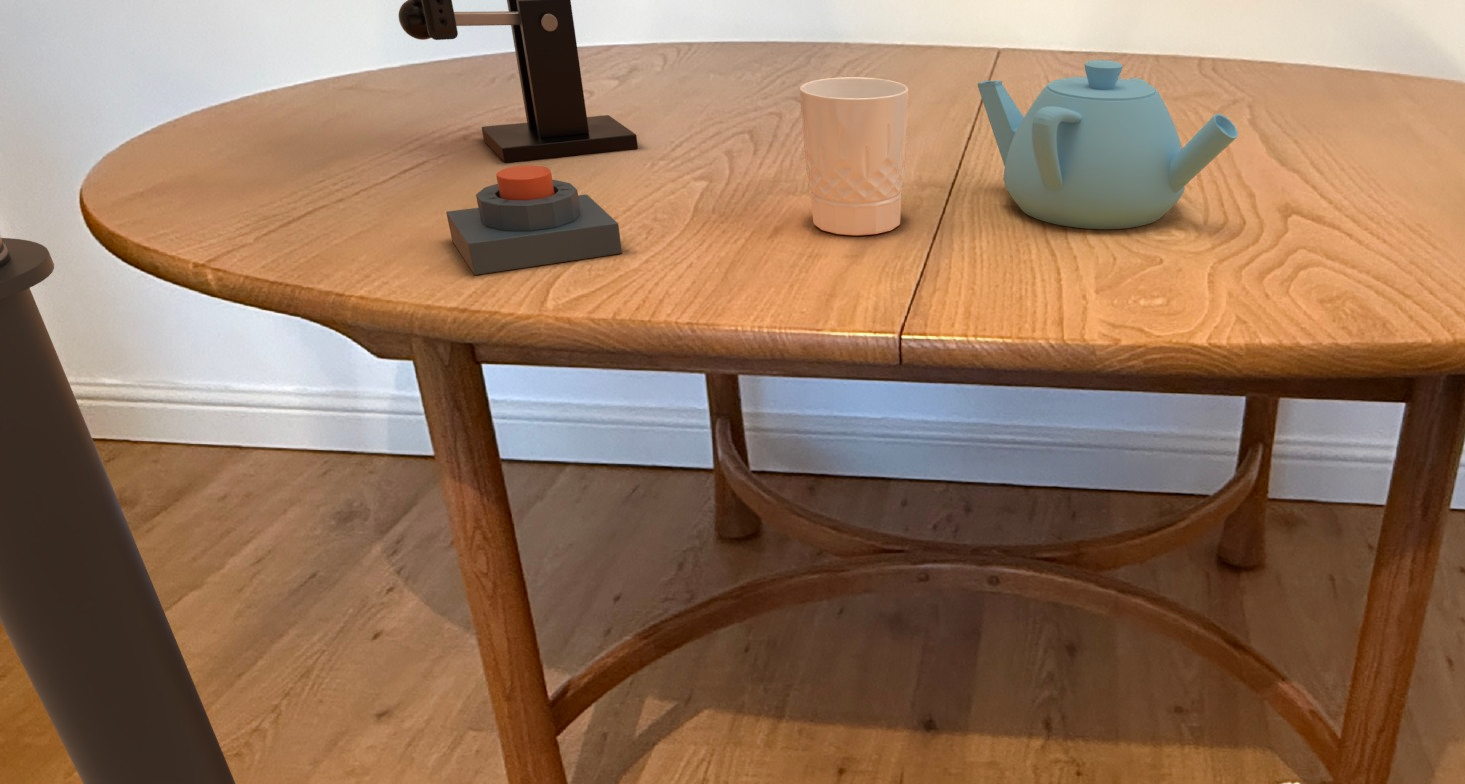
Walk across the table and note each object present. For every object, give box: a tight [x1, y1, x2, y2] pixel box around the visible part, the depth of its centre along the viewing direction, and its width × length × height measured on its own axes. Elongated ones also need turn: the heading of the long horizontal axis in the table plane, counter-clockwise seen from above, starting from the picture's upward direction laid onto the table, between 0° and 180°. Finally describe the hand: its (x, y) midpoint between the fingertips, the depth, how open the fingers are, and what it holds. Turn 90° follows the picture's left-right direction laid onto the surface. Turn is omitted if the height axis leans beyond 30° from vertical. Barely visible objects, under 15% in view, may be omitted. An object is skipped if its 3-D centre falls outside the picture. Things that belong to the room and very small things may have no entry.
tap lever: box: [398, 0, 520, 41], centre depth 98 cm, size 13×3×3 cm, turn 121°
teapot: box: [977, 59, 1239, 230], centre depth 90 cm, size 15×17×11 cm
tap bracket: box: [481, 0, 639, 164], centre depth 103 cm, size 12×9×13 cm
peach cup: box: [799, 76, 909, 236], centre depth 85 cm, size 8×8×10 cm
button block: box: [446, 179, 623, 276], centre depth 80 cm, size 10×8×4 cm
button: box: [495, 165, 555, 200], centre depth 79 cm, size 4×4×2 cm
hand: (435, 31), depth 97 cm, fingers open, 8 cm apart
